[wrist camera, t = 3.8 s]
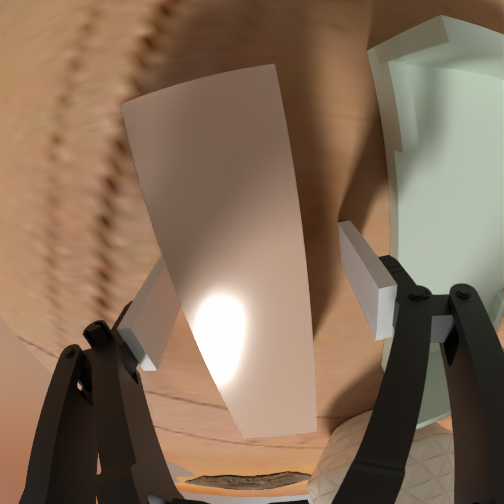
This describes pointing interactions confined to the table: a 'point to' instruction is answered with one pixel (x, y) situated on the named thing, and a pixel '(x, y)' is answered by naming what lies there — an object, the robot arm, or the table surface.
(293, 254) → the pinkish tan rectangular block
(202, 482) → the wooden fragment
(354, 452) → the vase
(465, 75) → the tray
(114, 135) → the table surface
